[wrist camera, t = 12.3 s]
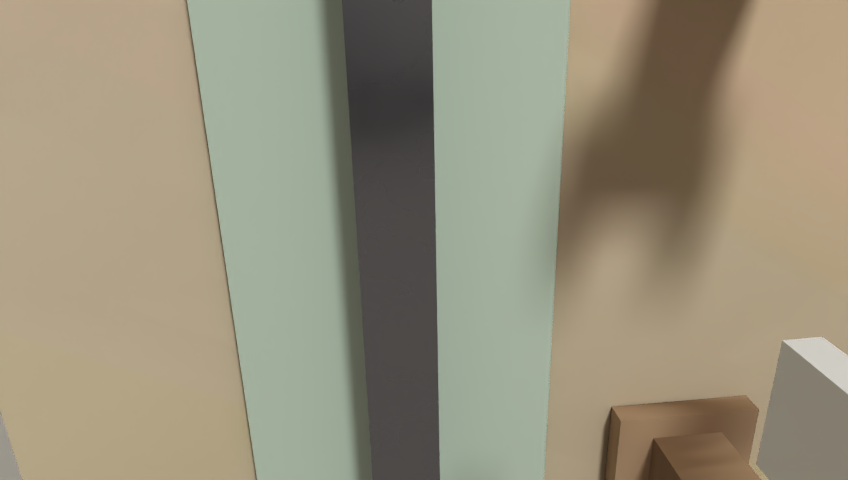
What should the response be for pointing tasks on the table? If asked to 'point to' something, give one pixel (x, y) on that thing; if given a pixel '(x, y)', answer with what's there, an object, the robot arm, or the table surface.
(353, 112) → the rail
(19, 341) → the table surface
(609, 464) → the hook stand
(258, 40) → the mat
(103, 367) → the table surface
